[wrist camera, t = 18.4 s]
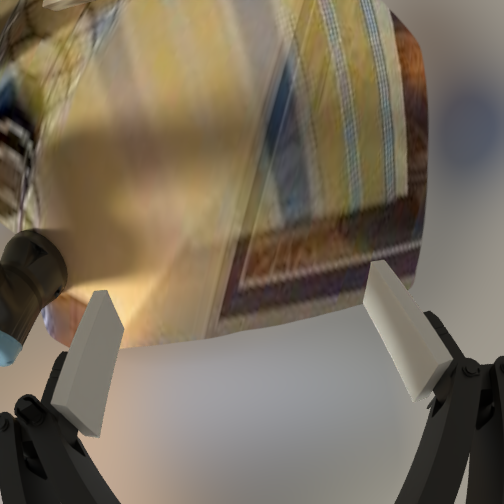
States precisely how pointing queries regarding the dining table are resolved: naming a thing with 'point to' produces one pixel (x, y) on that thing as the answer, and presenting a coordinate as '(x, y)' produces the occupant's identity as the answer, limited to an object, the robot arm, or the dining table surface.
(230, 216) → the dining table surface
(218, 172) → the dining table surface
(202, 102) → the dining table surface
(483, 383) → the robot arm
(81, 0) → the birch block
